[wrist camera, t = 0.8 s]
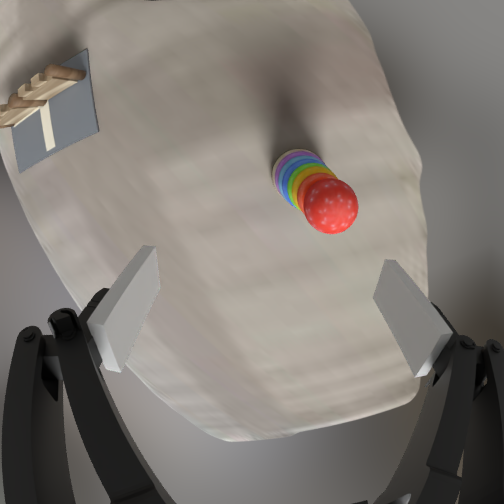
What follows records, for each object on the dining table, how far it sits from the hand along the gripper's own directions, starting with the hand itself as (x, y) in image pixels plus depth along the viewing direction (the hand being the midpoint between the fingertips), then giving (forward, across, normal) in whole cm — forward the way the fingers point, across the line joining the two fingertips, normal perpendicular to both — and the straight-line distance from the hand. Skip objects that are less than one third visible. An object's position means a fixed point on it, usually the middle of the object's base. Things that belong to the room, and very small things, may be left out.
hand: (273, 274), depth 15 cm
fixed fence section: (+27, -44, +15) cm, 54 cm away
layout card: (+27, -39, +13) cm, 49 cm away
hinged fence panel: (+26, -33, +17) cm, 46 cm away
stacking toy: (+27, +5, +1) cm, 27 cm away
